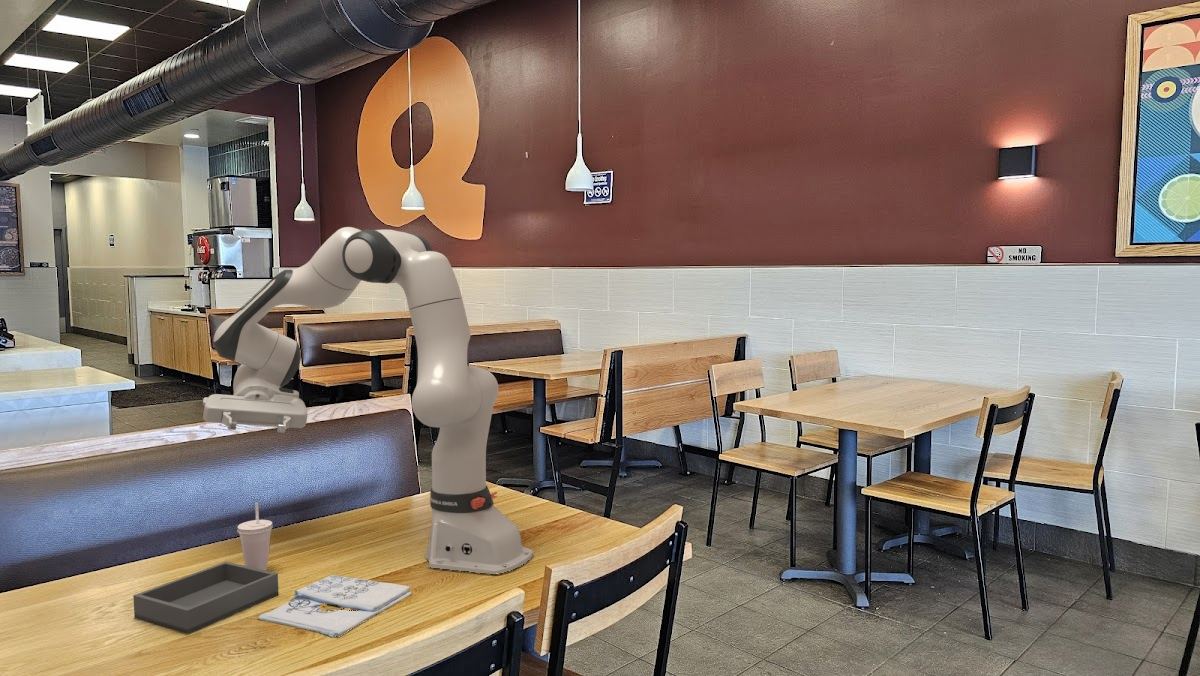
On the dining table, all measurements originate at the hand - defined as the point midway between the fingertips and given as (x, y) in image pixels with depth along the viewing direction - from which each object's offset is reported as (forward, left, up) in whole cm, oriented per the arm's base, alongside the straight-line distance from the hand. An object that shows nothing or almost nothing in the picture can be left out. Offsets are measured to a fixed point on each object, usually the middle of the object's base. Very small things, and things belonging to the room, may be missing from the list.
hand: (257, 428), depth 161 cm
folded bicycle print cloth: (-32, +11, -28) cm, 44 cm away
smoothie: (-6, +6, -27) cm, 29 cm away
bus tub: (-12, +21, -27) cm, 36 cm away
